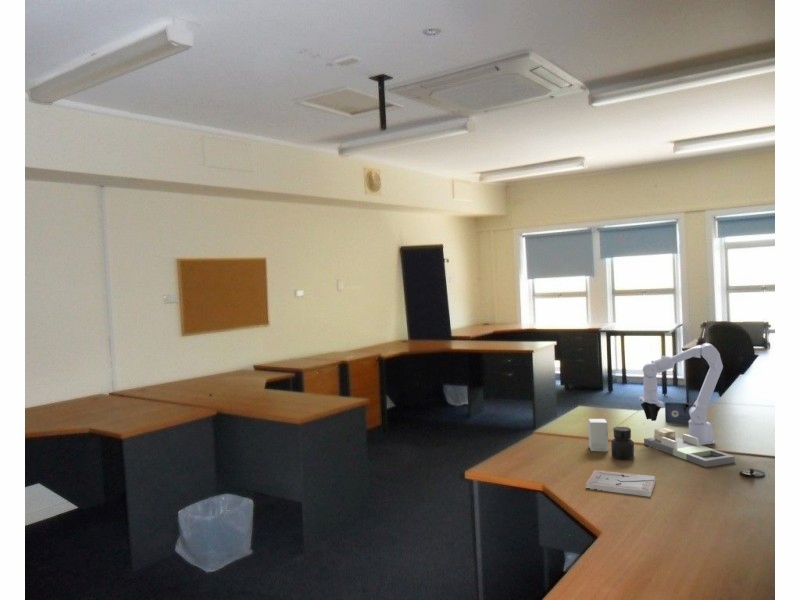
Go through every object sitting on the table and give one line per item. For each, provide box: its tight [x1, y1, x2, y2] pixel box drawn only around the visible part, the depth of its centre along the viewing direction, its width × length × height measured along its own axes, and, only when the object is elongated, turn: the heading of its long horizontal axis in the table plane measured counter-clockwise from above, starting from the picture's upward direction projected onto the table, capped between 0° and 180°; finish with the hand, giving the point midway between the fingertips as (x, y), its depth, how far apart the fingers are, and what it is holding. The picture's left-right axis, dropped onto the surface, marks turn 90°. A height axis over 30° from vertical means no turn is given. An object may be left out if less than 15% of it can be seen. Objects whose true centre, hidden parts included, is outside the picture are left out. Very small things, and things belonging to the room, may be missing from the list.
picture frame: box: [585, 469, 657, 498], centre depth 218 cm, size 16×2×22 cm
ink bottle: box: [610, 426, 635, 461], centre depth 250 cm, size 10×9×12 cm
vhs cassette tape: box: [664, 401, 694, 425], centre depth 300 cm, size 18×3×10 cm, turn 58°
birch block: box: [653, 427, 677, 441], centre depth 265 cm, size 6×6×4 cm
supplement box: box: [587, 418, 609, 452], centre depth 263 cm, size 7×7×13 cm
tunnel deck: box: [643, 433, 735, 468], centre depth 252 cm, size 14×36×6 cm, turn 16°
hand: (651, 419), depth 272 cm, fingers open, 3 cm apart
